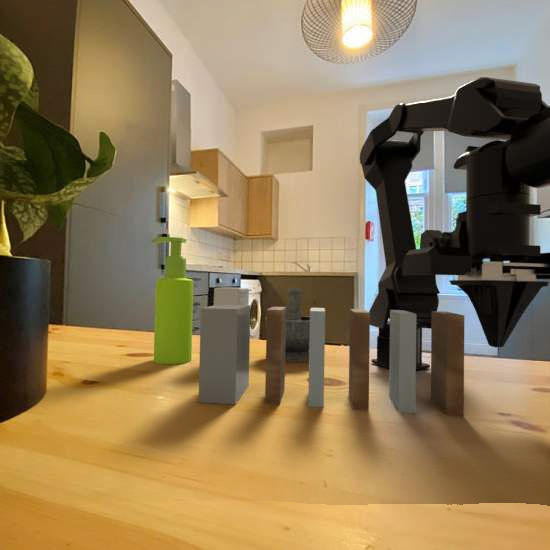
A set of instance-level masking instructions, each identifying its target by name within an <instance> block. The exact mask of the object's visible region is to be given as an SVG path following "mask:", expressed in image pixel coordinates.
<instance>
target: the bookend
mask: <svg viewBox="0 0 550 550" xmlns="http://www.w3.org/2000/svg"><path fill="white" fill-rule="evenodd" d="M199 337H200V338H199V368H198V369H199V370H198V371H199V372H198V373H199V375H198V403H202V404H203V403H204V404H206V403H207V404H222V405H236V404H237V403H238V401H240V398H241V397H242V395H243V394H244V393H245V392H246V390H247V389H248V387H249V385H250V383H249V381H250V349H251V348H250V342H251V341H250V339H251V305H250V304H248V305H225V304H219V305H214V304H213V305H210V306H209V305H208V306H205V307H201V308H200V335H199Z"/></svg>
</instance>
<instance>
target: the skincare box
mask: <svg viewBox="0 0 550 550" xmlns="http://www.w3.org/2000/svg"><path fill="white" fill-rule="evenodd" d="M213 291H214V292H213V306H214V305H219V304H225V305H249V304H250V303H249V302H250V300H249V298H250V288H249V287H248V288H247V287H214V290H213Z"/></svg>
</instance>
